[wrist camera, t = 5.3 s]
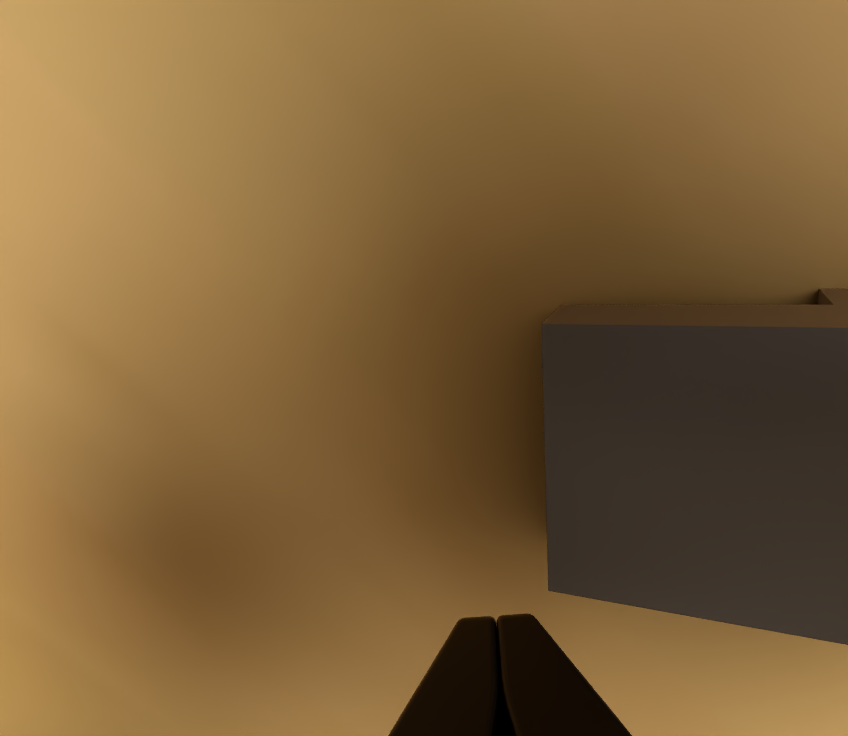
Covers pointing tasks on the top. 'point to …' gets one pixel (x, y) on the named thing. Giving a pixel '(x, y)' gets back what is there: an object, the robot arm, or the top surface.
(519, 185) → the top surface
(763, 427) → the domino
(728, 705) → the top surface
